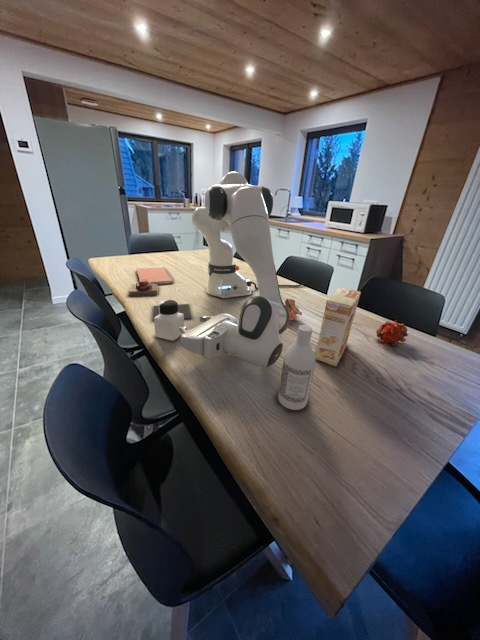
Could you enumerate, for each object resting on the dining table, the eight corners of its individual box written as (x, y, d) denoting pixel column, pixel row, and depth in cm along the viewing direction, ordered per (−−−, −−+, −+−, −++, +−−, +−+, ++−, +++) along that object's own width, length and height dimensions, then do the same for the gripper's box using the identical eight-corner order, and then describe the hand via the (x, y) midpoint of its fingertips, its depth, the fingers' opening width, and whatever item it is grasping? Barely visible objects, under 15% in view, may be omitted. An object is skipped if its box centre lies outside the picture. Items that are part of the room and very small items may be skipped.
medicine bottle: (184, 331, 92) (183, 300, 87) (173, 341, 86) (171, 307, 81) (167, 327, 94) (164, 296, 89) (155, 337, 88) (151, 303, 83)
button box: (157, 287, 131) (157, 280, 130) (157, 294, 123) (156, 286, 121) (132, 288, 128) (131, 280, 127) (129, 296, 120) (128, 287, 118)
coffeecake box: (336, 367, 78) (352, 306, 69) (313, 358, 81) (325, 299, 72) (347, 345, 89) (362, 291, 81) (326, 339, 93) (338, 286, 84)
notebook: (174, 283, 139) (174, 279, 138) (141, 286, 132) (140, 282, 131) (165, 269, 161) (165, 266, 160) (136, 271, 154) (136, 268, 153)
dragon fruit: (402, 344, 95) (375, 353, 92) (390, 324, 98) (363, 331, 96) (419, 335, 88) (390, 344, 85) (405, 313, 91) (377, 321, 88)
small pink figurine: (276, 324, 102) (271, 302, 105) (287, 328, 110) (282, 307, 113) (298, 317, 97) (292, 294, 100) (308, 321, 105) (302, 300, 108)
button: (148, 283, 126) (147, 278, 125) (147, 285, 123) (147, 281, 122) (139, 283, 125) (139, 279, 124) (138, 286, 122) (138, 281, 121)
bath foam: (287, 387, 69) (298, 317, 60) (311, 400, 65) (327, 328, 56) (272, 400, 64) (282, 327, 55) (297, 415, 60) (313, 339, 51)
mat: (188, 305, 114) (188, 304, 114) (191, 319, 102) (191, 318, 101) (154, 306, 110) (154, 305, 110) (153, 321, 98) (152, 320, 98)
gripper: (246, 315, 83) (211, 304, 89) (204, 341, 67) (166, 326, 73) (245, 332, 85) (211, 320, 92) (204, 362, 70) (167, 345, 76)
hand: (191, 323), depth 82 cm, fingers open, 8 cm apart
